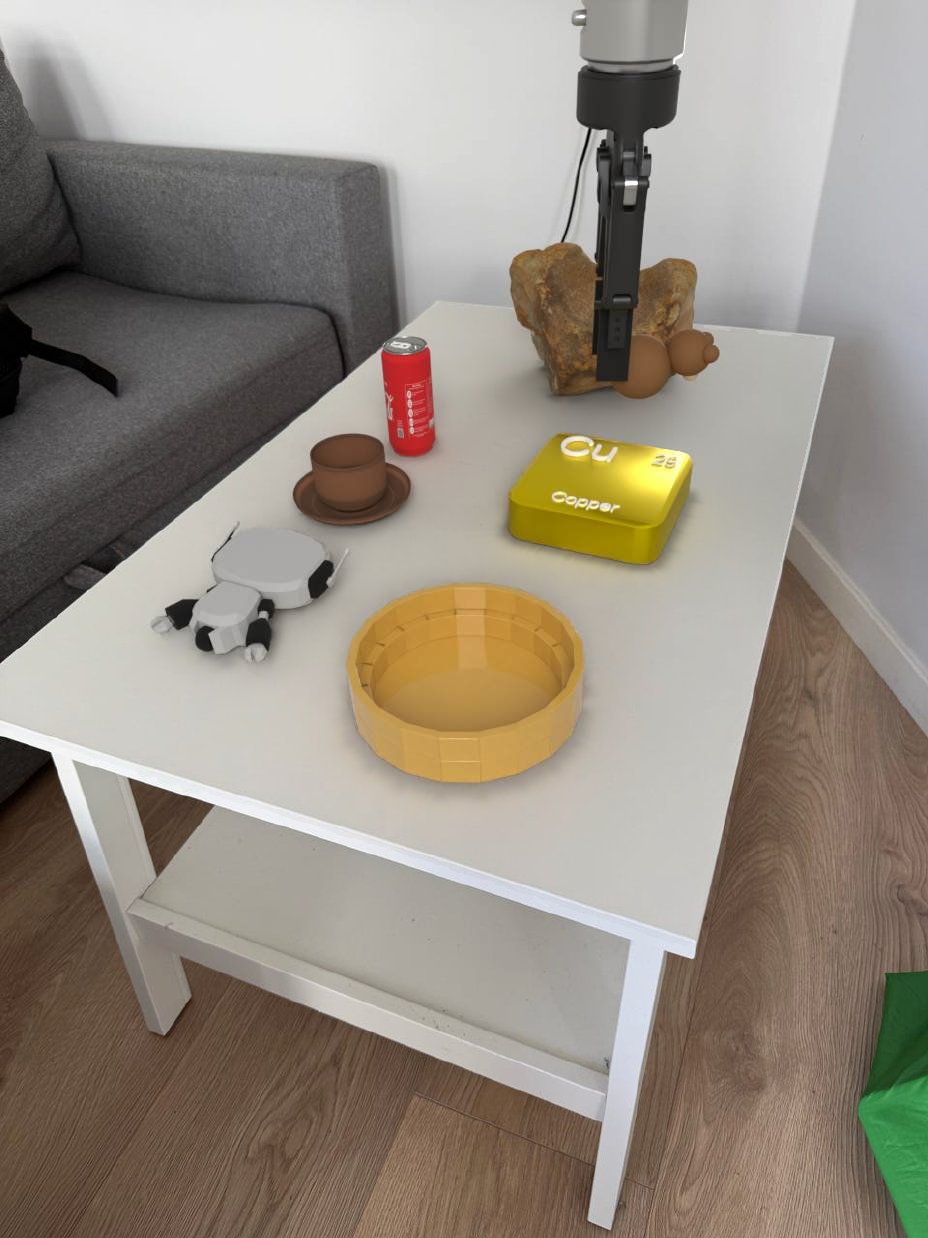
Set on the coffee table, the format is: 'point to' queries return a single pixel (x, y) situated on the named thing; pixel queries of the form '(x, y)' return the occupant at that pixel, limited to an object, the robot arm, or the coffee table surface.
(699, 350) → the plush bear
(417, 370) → the beverage can
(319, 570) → the robot toy
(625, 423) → the coffee table surface
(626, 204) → the robot arm
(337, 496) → the cup and saucer
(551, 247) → the rough brown rock
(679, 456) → the element tile
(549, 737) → the ochre bowl
